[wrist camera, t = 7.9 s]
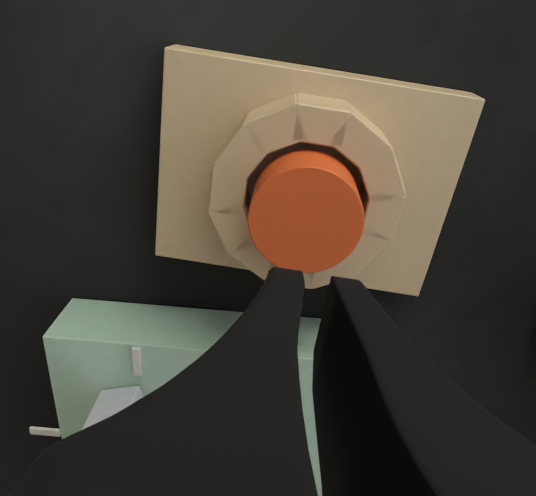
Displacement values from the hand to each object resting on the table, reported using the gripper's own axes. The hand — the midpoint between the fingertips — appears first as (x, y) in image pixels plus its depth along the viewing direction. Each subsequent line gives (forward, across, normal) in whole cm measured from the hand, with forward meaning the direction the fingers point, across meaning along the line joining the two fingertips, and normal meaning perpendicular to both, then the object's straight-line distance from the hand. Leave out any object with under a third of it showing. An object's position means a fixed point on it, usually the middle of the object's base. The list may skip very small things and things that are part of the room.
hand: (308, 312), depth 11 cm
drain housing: (+10, 0, 0) cm, 10 cm away
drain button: (+7, 0, 0) cm, 7 cm away
